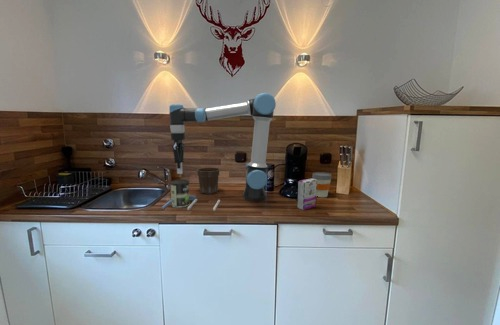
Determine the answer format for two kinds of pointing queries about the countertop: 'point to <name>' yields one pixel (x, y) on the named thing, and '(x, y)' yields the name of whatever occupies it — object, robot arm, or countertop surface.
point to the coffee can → (180, 193)
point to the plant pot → (208, 180)
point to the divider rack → (191, 203)
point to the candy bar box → (307, 193)
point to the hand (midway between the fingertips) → (180, 173)
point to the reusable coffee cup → (322, 183)
